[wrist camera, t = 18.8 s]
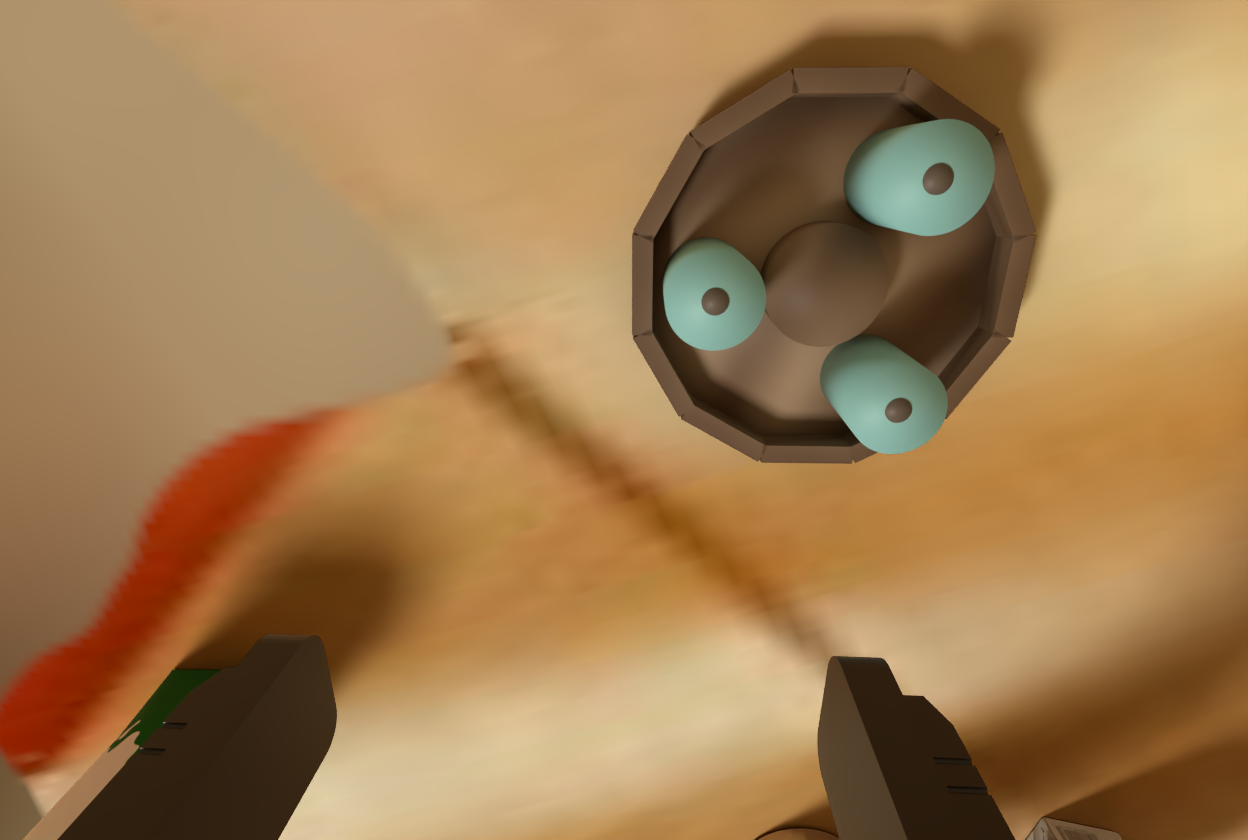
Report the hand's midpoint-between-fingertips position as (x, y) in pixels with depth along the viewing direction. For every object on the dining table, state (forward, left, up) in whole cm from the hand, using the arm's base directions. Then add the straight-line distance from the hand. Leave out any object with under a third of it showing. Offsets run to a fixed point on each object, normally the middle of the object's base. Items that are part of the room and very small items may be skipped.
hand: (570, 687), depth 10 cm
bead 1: (-2, -4, -25) cm, 26 cm away
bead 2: (-7, -13, -25) cm, 29 cm away
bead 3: (-12, -4, -25) cm, 29 cm away
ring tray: (-7, -7, -26) cm, 28 cm away
